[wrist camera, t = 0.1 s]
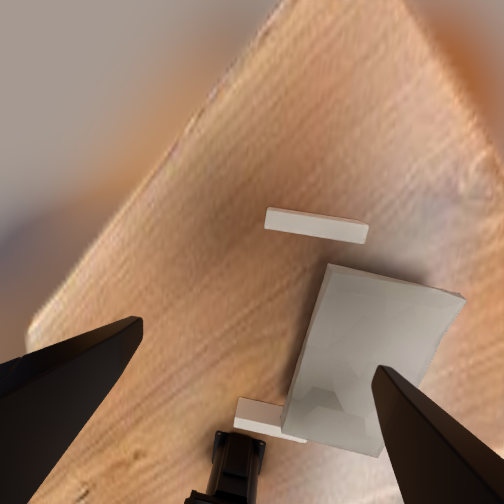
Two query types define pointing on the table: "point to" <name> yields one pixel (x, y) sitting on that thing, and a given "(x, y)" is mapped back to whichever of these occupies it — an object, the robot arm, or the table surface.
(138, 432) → the table surface
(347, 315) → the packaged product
